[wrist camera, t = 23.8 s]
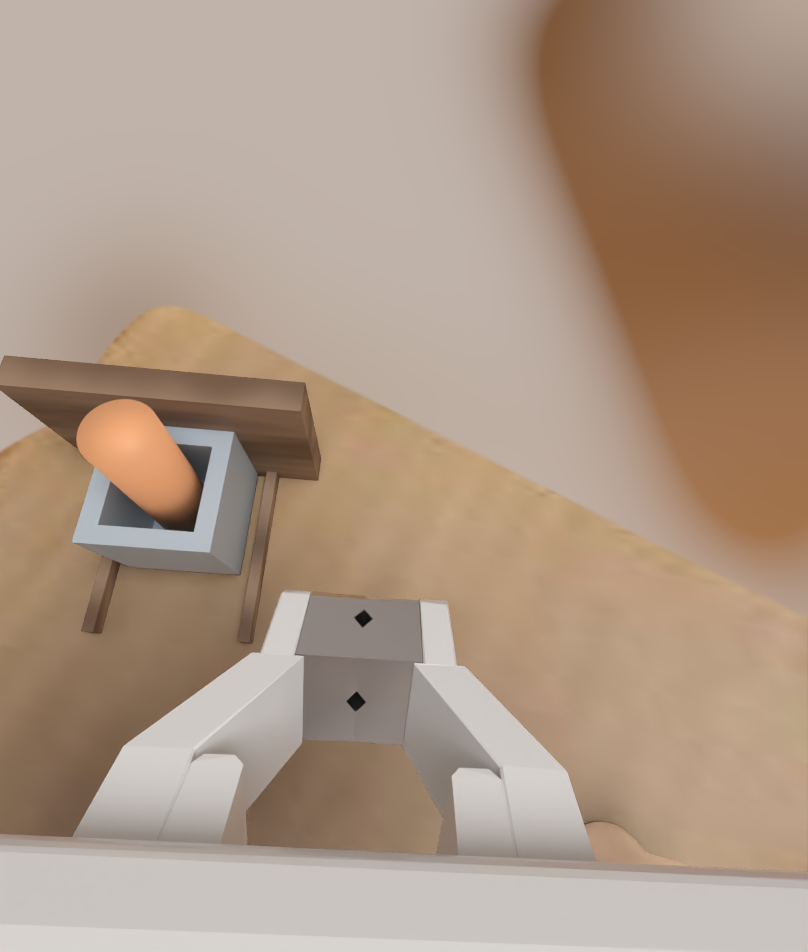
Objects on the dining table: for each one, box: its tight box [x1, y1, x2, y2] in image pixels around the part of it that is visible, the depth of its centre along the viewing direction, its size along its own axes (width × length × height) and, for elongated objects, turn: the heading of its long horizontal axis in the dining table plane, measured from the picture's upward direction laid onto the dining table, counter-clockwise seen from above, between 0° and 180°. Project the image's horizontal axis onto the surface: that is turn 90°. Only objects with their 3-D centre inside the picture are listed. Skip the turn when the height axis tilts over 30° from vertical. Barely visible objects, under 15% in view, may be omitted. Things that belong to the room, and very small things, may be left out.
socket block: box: [72, 426, 258, 575], centre depth 35 cm, size 8×8×8 cm
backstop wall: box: [0, 356, 321, 643], centre depth 33 cm, size 15×18×12 cm
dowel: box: [76, 399, 204, 532], centre depth 32 cm, size 4×4×14 cm
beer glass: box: [584, 822, 691, 866], centre depth 26 cm, size 7×7×15 cm
